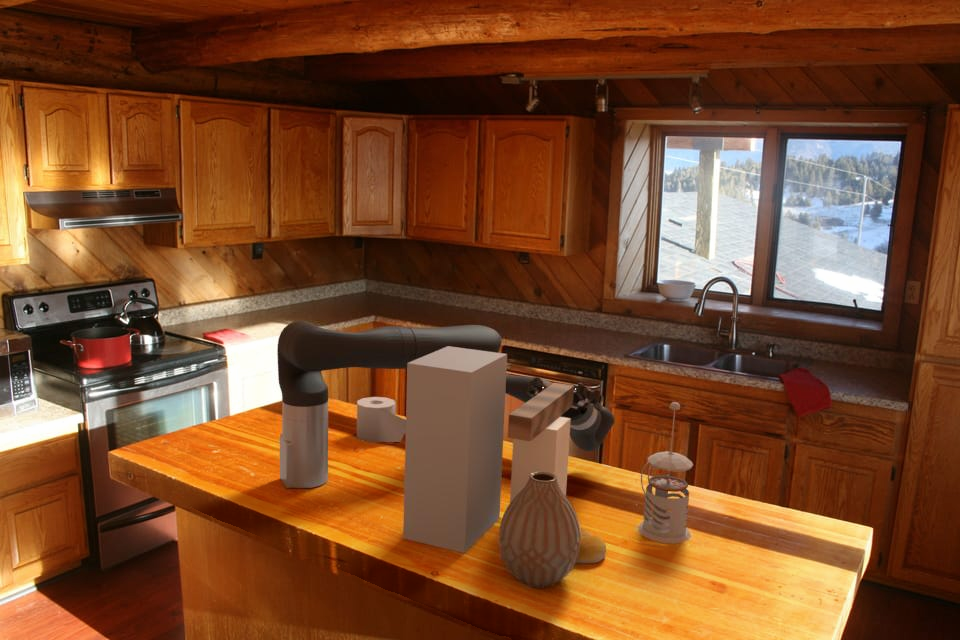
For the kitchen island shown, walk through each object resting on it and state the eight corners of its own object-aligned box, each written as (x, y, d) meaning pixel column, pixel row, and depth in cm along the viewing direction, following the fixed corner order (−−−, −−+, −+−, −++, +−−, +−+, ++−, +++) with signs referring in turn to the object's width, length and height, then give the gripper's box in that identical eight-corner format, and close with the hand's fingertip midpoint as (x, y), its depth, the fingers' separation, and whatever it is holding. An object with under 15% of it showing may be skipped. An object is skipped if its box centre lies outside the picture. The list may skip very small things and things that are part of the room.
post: (550, 543, 145) (557, 430, 141) (508, 534, 148) (513, 423, 144) (563, 526, 152) (570, 418, 148) (523, 517, 155) (529, 411, 151)
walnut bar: (530, 441, 135) (531, 418, 134) (507, 437, 136) (508, 414, 135) (572, 405, 156) (574, 385, 156) (553, 402, 158) (554, 382, 157)
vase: (555, 607, 123) (561, 499, 120) (481, 582, 130) (486, 478, 127) (591, 573, 134) (598, 473, 131) (521, 551, 141) (526, 455, 138)
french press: (660, 547, 145) (672, 412, 140) (620, 521, 155) (630, 395, 151) (702, 537, 150) (715, 407, 145) (661, 513, 160) (671, 390, 155)
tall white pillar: (464, 553, 140) (471, 372, 134) (403, 538, 144) (407, 363, 139) (499, 518, 154) (507, 354, 148) (442, 506, 159) (447, 346, 153)
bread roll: (584, 570, 136) (585, 548, 135) (546, 550, 143) (547, 528, 142) (616, 556, 141) (618, 535, 140) (578, 538, 148) (580, 517, 147)
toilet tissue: (406, 444, 193) (407, 410, 192) (351, 440, 195) (352, 406, 193) (413, 432, 202) (414, 399, 200) (361, 429, 203) (361, 395, 202)
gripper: (606, 431, 162) (590, 409, 148) (539, 420, 168) (516, 398, 153) (613, 395, 164) (597, 370, 150) (546, 385, 170) (525, 361, 156)
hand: (557, 384), depth 152 cm, fingers open, 8 cm apart
